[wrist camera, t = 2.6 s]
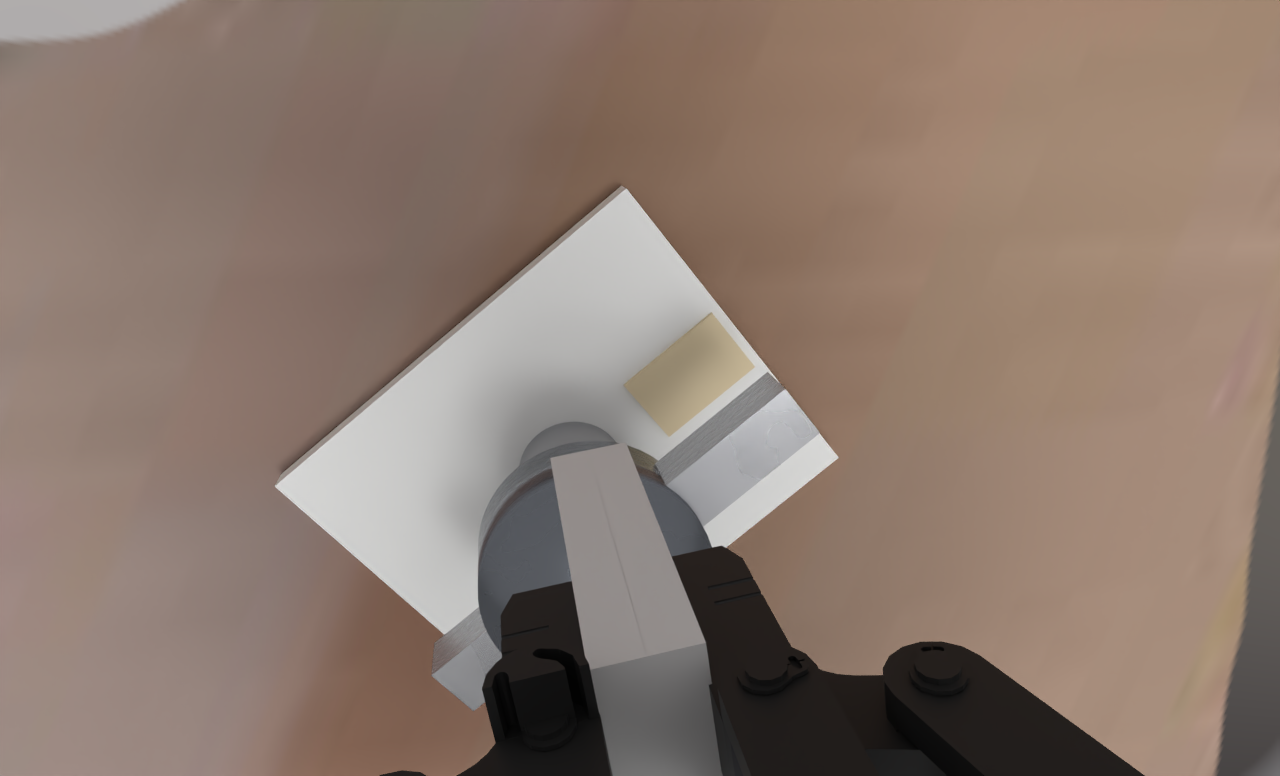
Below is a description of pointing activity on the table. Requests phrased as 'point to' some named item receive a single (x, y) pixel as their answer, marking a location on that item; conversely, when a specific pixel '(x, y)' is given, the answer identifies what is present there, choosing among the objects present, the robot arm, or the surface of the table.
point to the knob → (676, 488)
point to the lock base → (535, 406)
